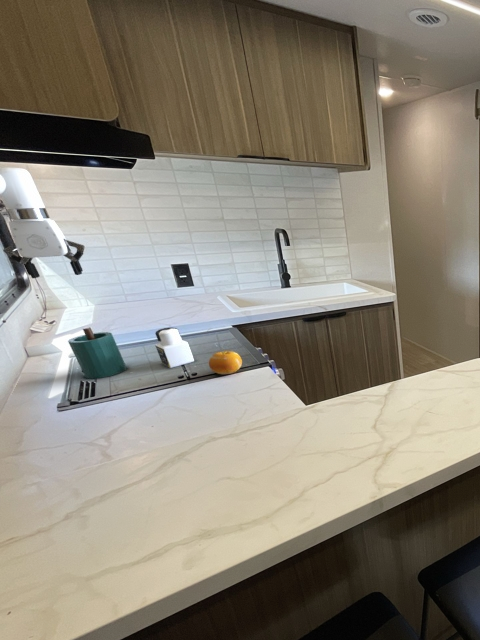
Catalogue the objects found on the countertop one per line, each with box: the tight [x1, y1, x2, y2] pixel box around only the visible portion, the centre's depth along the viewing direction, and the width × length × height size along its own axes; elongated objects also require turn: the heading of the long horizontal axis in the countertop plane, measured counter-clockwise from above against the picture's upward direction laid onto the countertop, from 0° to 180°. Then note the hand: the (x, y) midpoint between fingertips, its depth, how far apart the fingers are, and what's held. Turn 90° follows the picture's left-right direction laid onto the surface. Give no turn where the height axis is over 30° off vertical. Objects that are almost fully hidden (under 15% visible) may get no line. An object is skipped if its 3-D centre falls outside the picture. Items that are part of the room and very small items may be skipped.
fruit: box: [208, 350, 243, 375], centre depth 127 cm, size 8×8×8 cm
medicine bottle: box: [154, 326, 195, 369], centre depth 135 cm, size 7×7×12 cm
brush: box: [82, 326, 95, 340], centre depth 127 cm, size 4×4×14 cm
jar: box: [67, 331, 127, 379], centre depth 128 cm, size 10×10×12 cm
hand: (57, 275), depth 122 cm, fingers open, 9 cm apart
